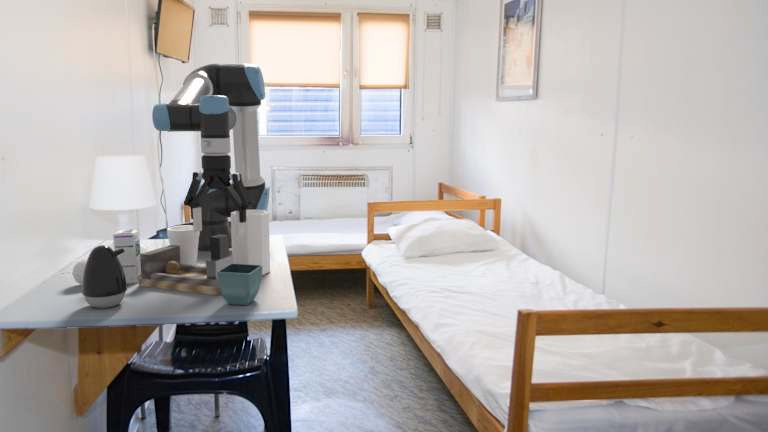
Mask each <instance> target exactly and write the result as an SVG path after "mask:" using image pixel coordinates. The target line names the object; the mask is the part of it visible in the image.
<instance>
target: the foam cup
mask: <svg viewBox="0 0 768 432" xmlns="http://www.w3.org/2000/svg"><path fill="white" fill-rule="evenodd" d="M166 231H167V233H166V235H167V239H168V242H169V245H178V246H180V263H181V264H187V265H197V262H198V261H197V260H198V251H199V250H198V241H199V235H200V231H198V232H194V227H193V225H191V224H188V225H187V224H186V225H175V226H174V225H173V226H169V227H167V228H166Z"/></svg>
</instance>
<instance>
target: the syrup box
mask: <svg viewBox="0 0 768 432" xmlns="http://www.w3.org/2000/svg"><path fill="white" fill-rule="evenodd" d="M112 237H113V251H116V250H119V249H122V248H123V249H124V250H125V252H124V253H122V254H120V255H118V256H117V257H118V259H119V260H120V263H121V265H122V268H123V270H124V274H125V278H126V283H127V285H128V284H129V285H130V284H139V279H140V278H141V264H140V254H141V253H142V252H141V243H140V231H139V229H123V230H120V229H119V230H117V232H115V233H114V234H112Z"/></svg>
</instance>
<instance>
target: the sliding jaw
mask: <svg viewBox="0 0 768 432" xmlns="http://www.w3.org/2000/svg"><path fill="white" fill-rule="evenodd" d="M210 247H211V250H210V258H209V259H206V260H205V264H206V265H205V266H206V272H207V278H209V279H218V275H217V272H218V271H219V270H221V269H223V268H224V267H226V266H227V265H229V264H234V256H233V255H232V254H230V249H229V248H230V247H229V245H228V235H221V234H218V235H215V236H212V237H210Z"/></svg>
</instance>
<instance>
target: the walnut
mask: <svg viewBox="0 0 768 432" xmlns="http://www.w3.org/2000/svg"><path fill="white" fill-rule="evenodd" d="M179 269H180V266H179V264H178V263H177V262H175V261H169V262H168V263H167V264H166V265H165V271H166V273H167V274H173V275H175V274H177V273H178V272H179Z"/></svg>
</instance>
